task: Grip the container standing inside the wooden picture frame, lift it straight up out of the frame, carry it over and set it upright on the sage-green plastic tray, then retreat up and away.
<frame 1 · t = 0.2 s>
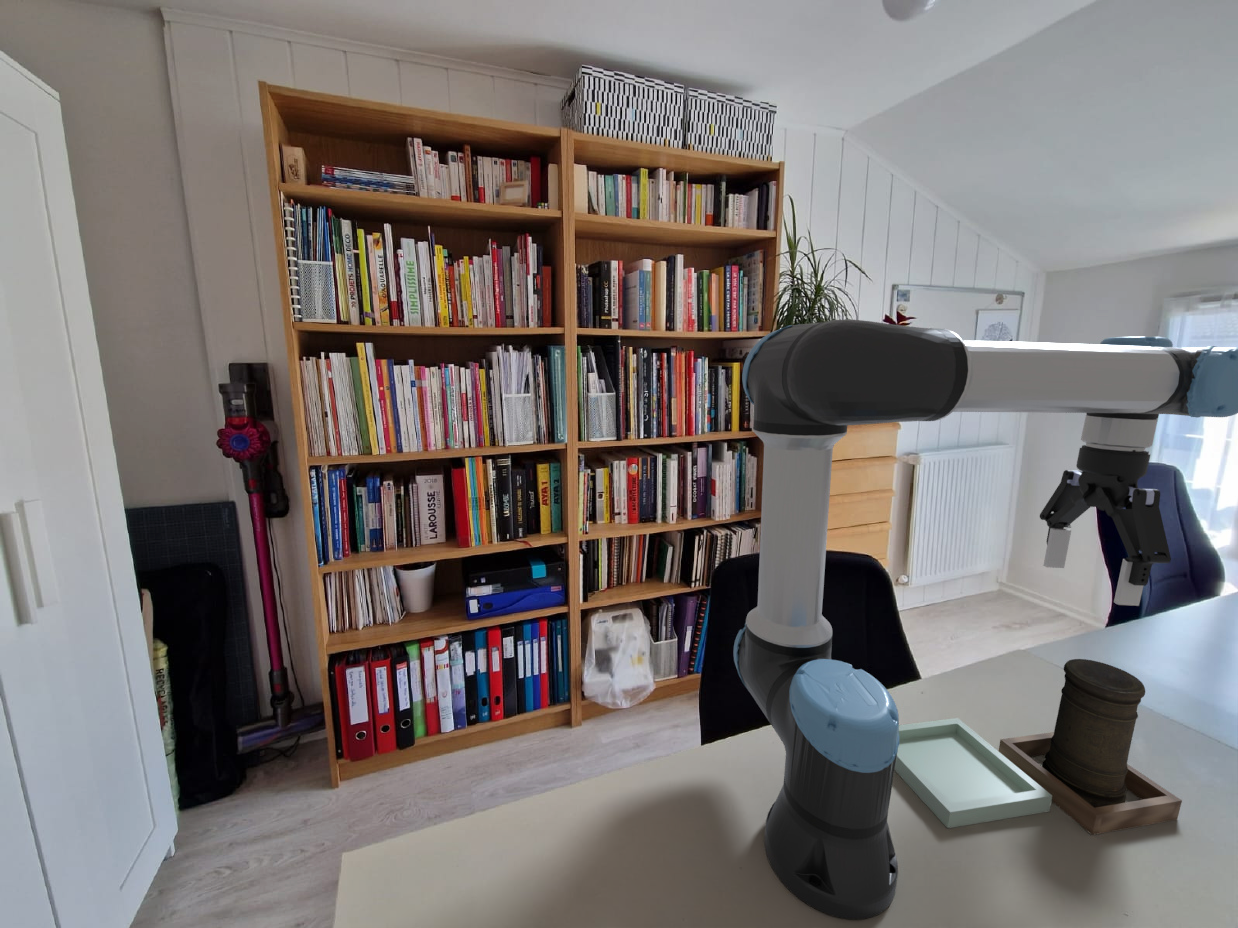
hand: (1086, 584, 79), 27 cm above the table, fingers open, 13 cm apart
wooden picture frame: (1080, 785, 76), on the table
tray: (952, 774, 78), on the table
container: (1080, 786, 76), resting in wooden picture frame
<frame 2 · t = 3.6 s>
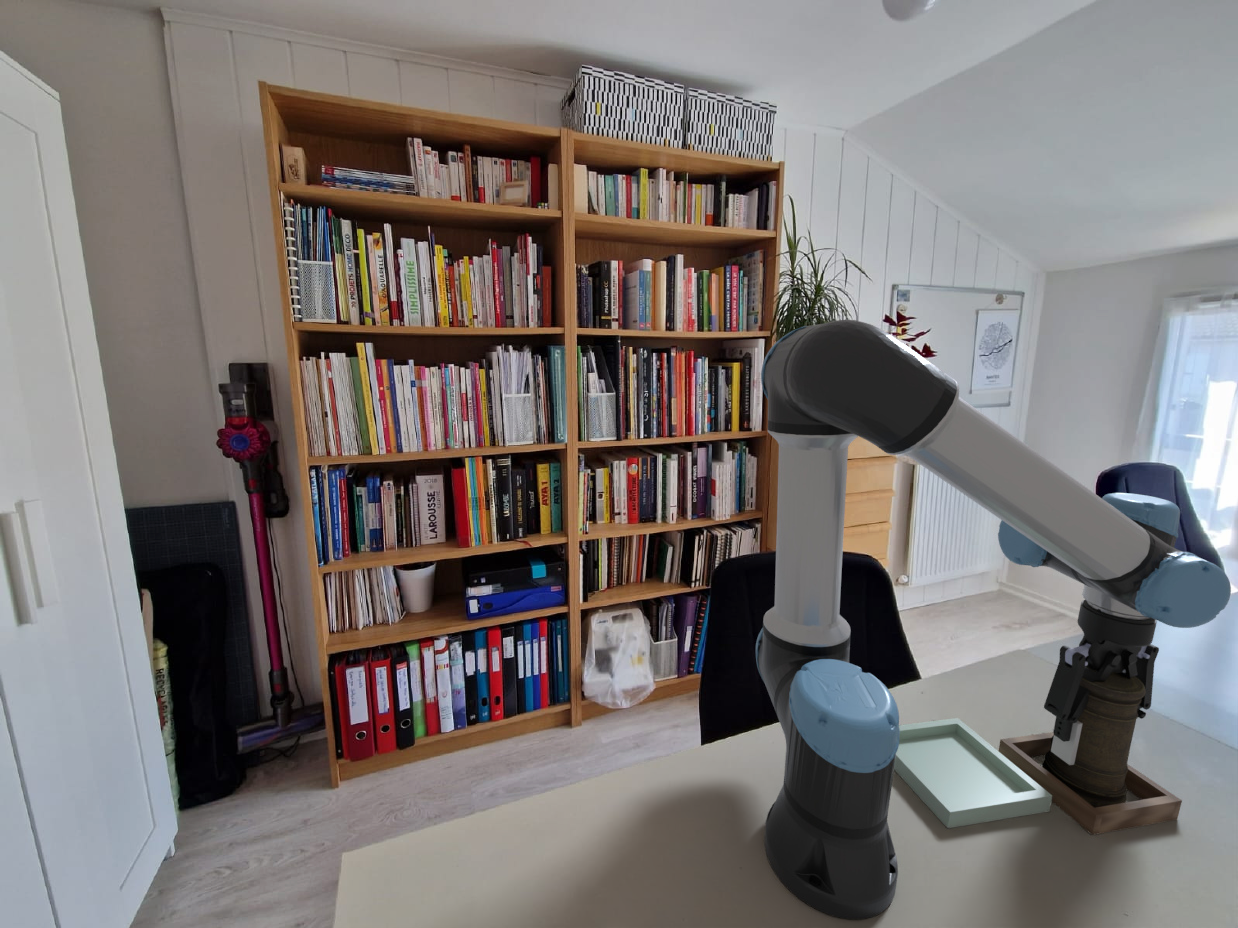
hand: (1087, 754, 75), 5 cm above the table, fingers closed on container, 8 cm apart
container: (1080, 786, 76), resting in wooden picture frame, touching gripper
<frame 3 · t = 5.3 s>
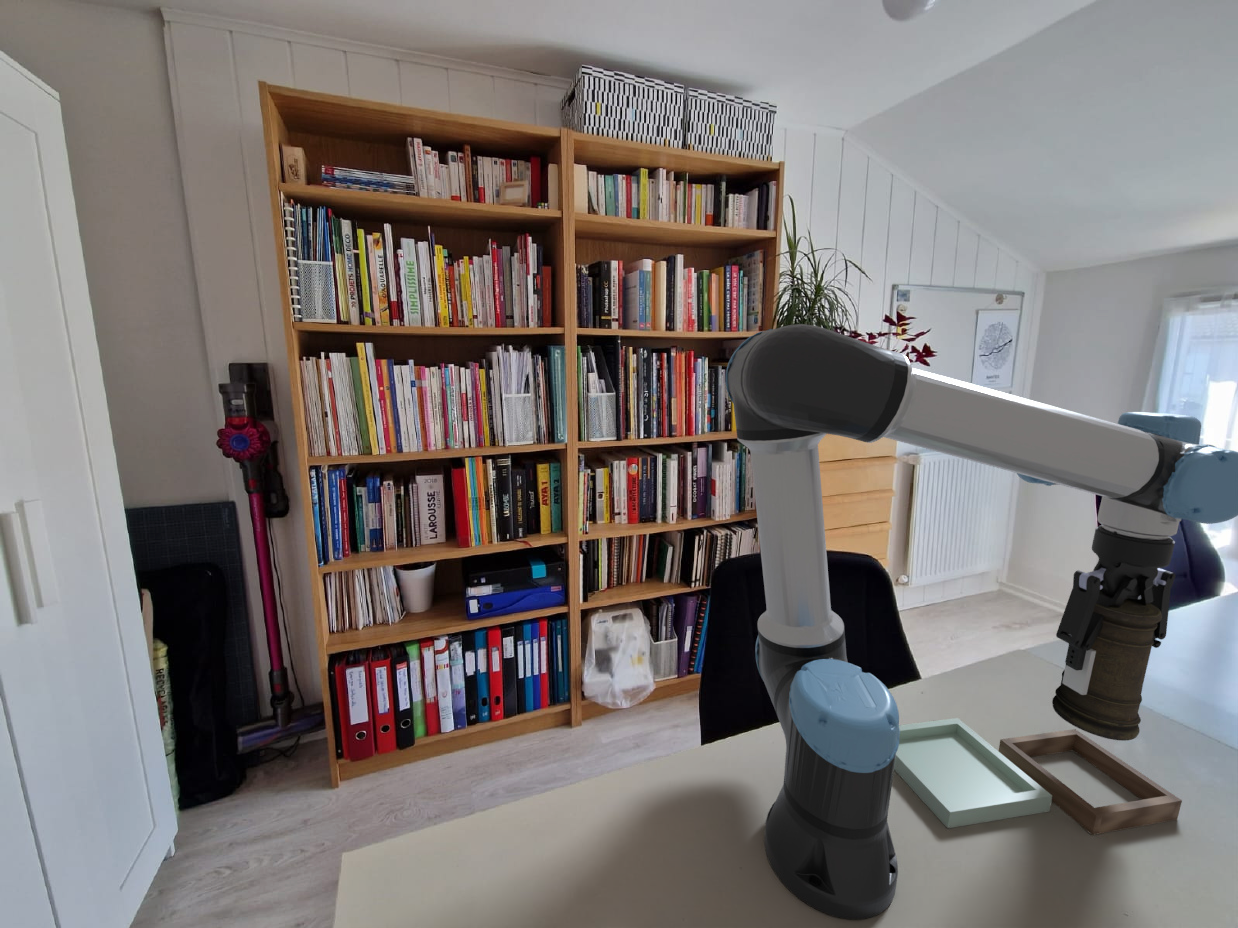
hand: (1099, 685, 73), 16 cm above the table, fingers closed on container, 8 cm apart
container: (1092, 720, 74), point 11 cm above the table, touching gripper
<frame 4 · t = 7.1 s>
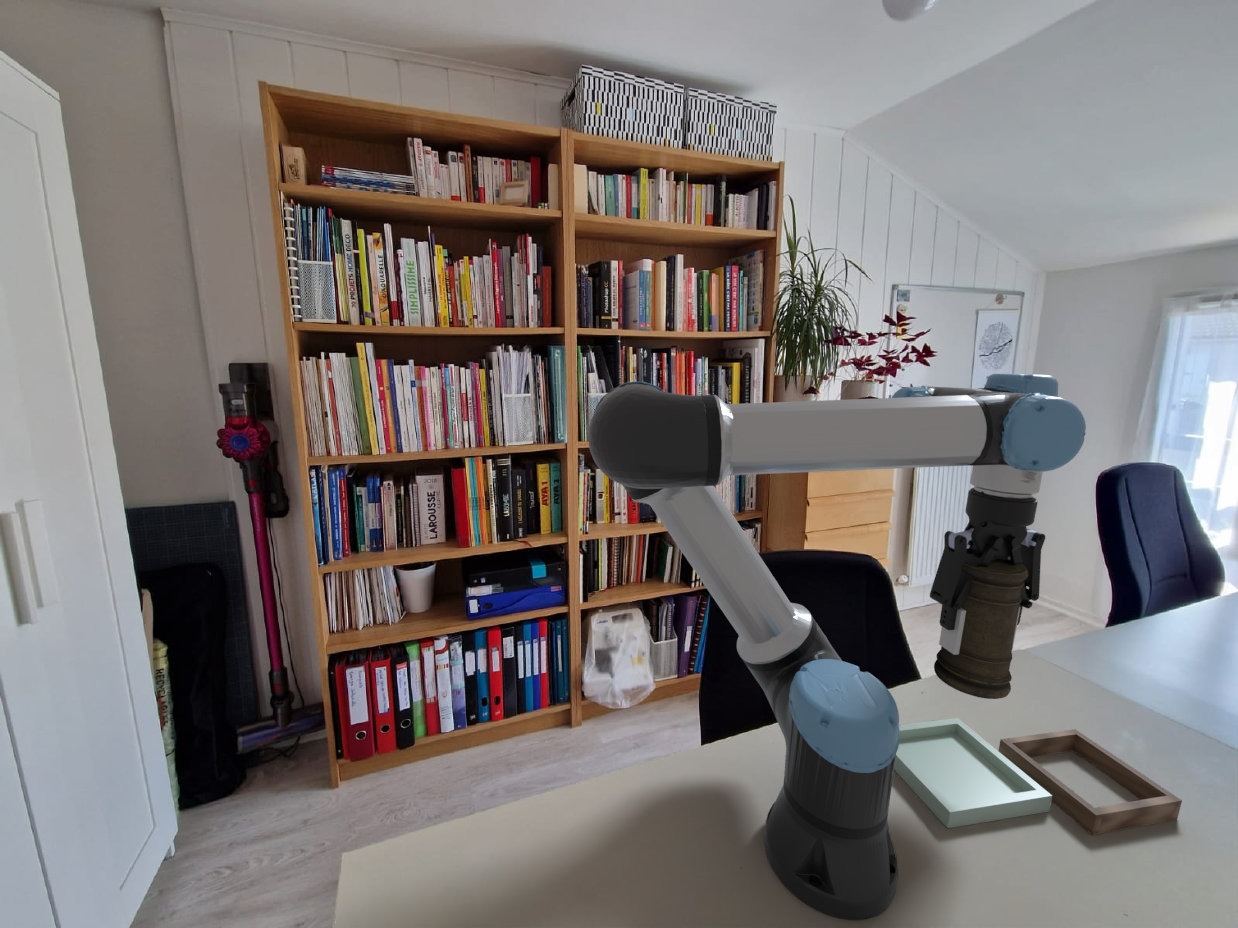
hand: (975, 647, 74), 21 cm above the table, fingers closed on container, 8 cm apart
container: (969, 681, 75), point 15 cm above the table, touching gripper
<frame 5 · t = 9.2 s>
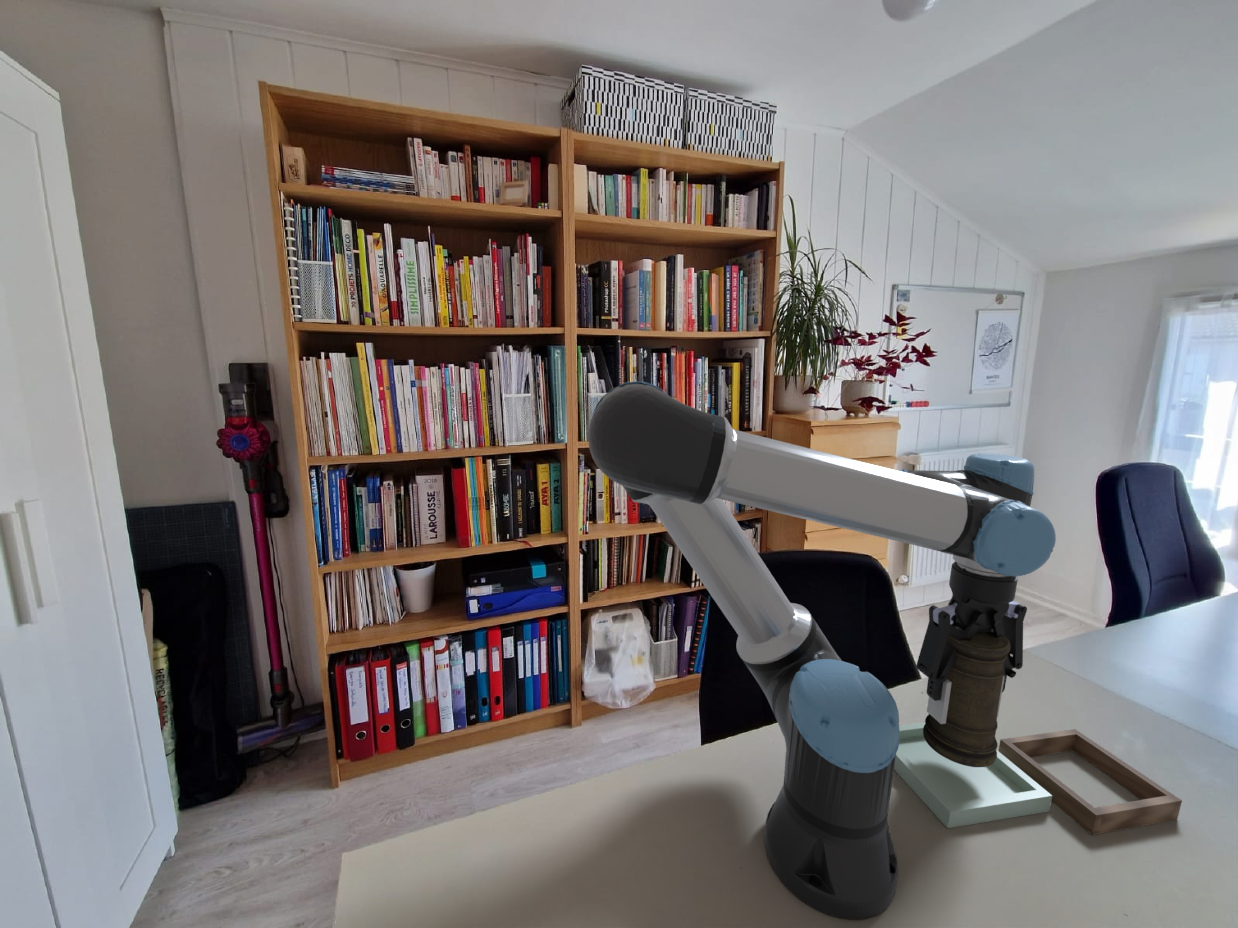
hand: (962, 714, 76), 10 cm above the table, fingers closed on container, 8 cm apart
container: (957, 746, 77), point 5 cm above the table, touching gripper
when the fingers open (7 cm above the table, at t = 10.7 s): container drops 1 cm, resting on tray.
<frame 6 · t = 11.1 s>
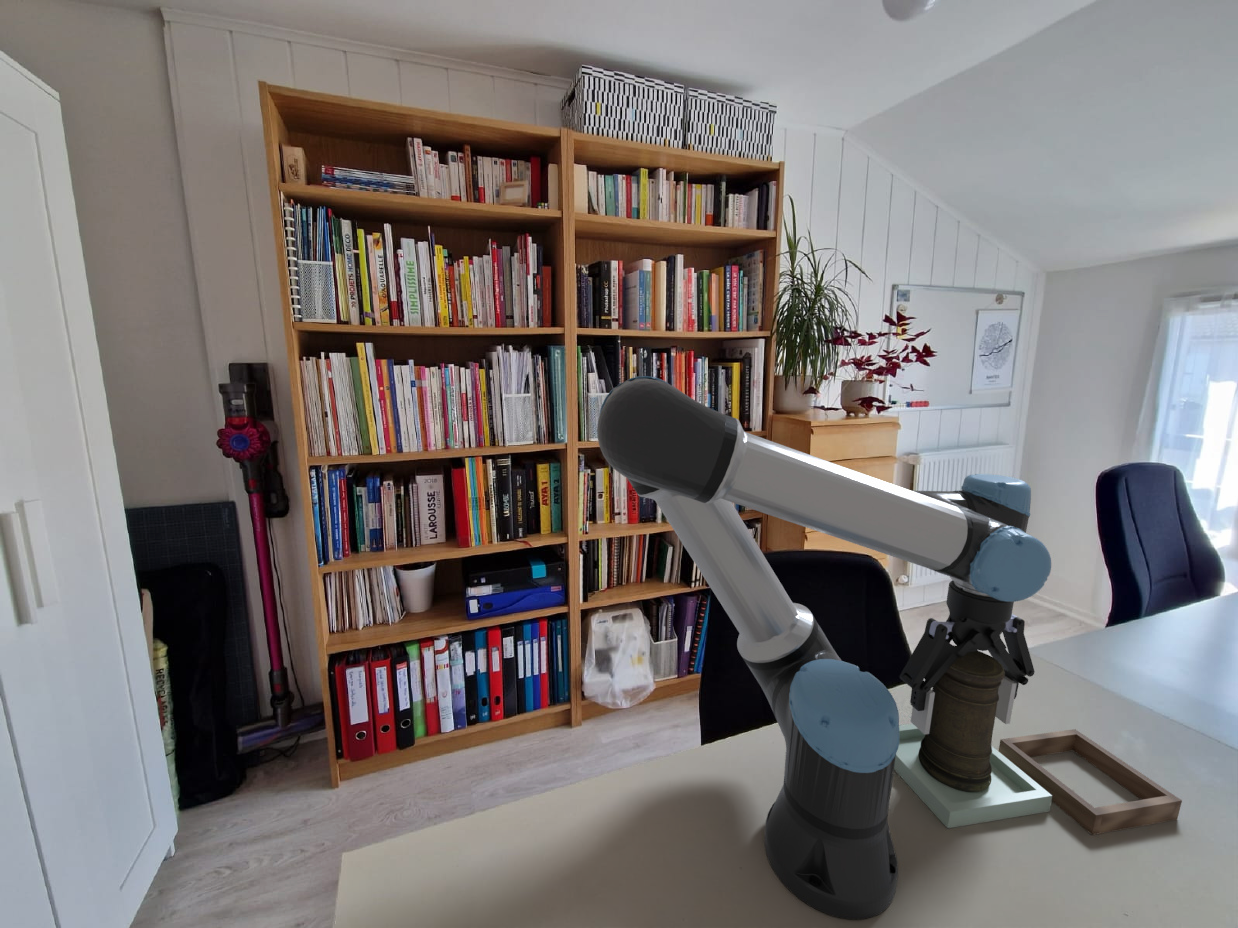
hand: (960, 722, 76), 9 cm above the table, fingers open, 13 cm apart
container: (952, 770, 78), point 1 cm above the table, touching tray
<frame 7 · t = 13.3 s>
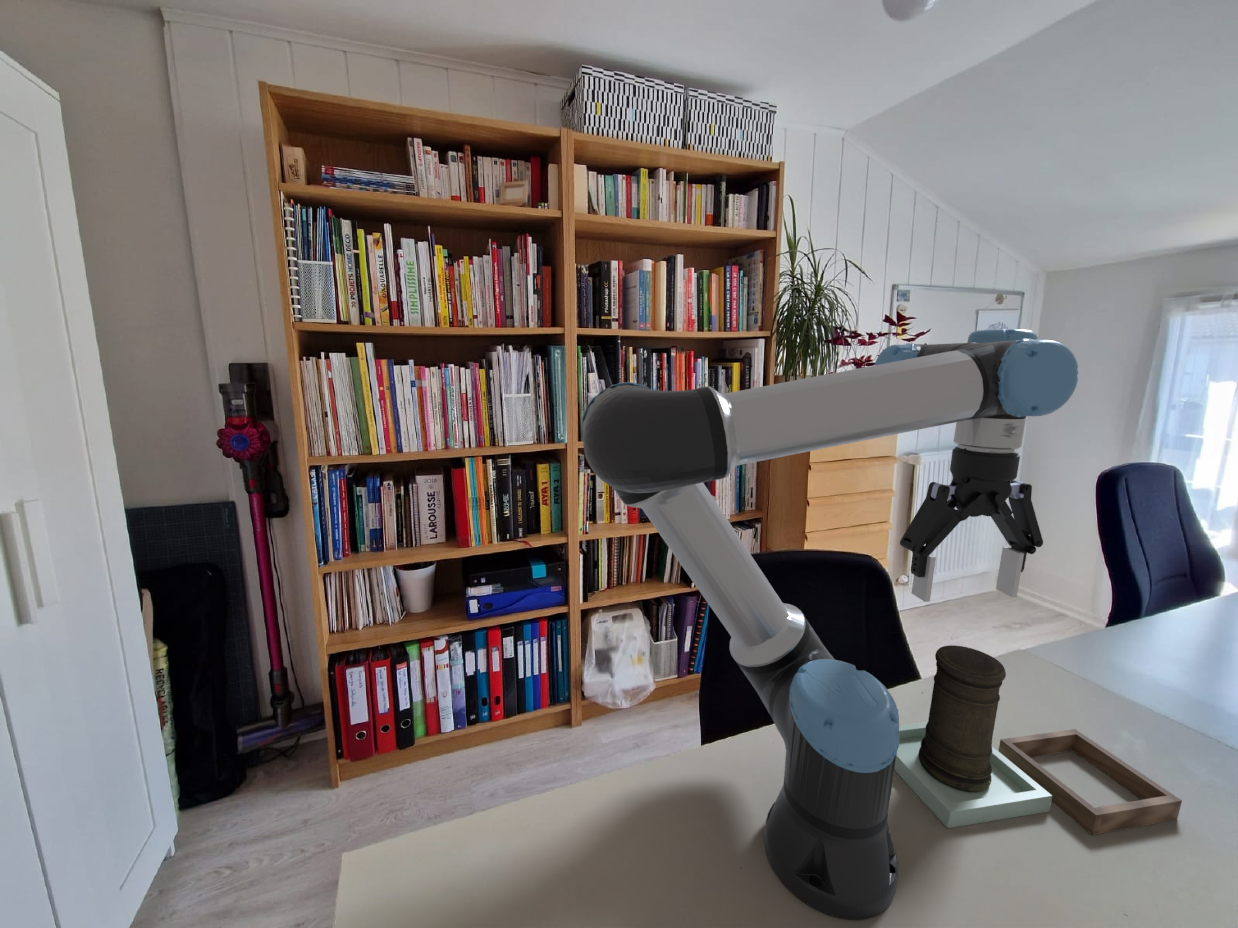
hand: (963, 595, 74), 28 cm above the table, fingers open, 13 cm apart
nothing on the table moved.
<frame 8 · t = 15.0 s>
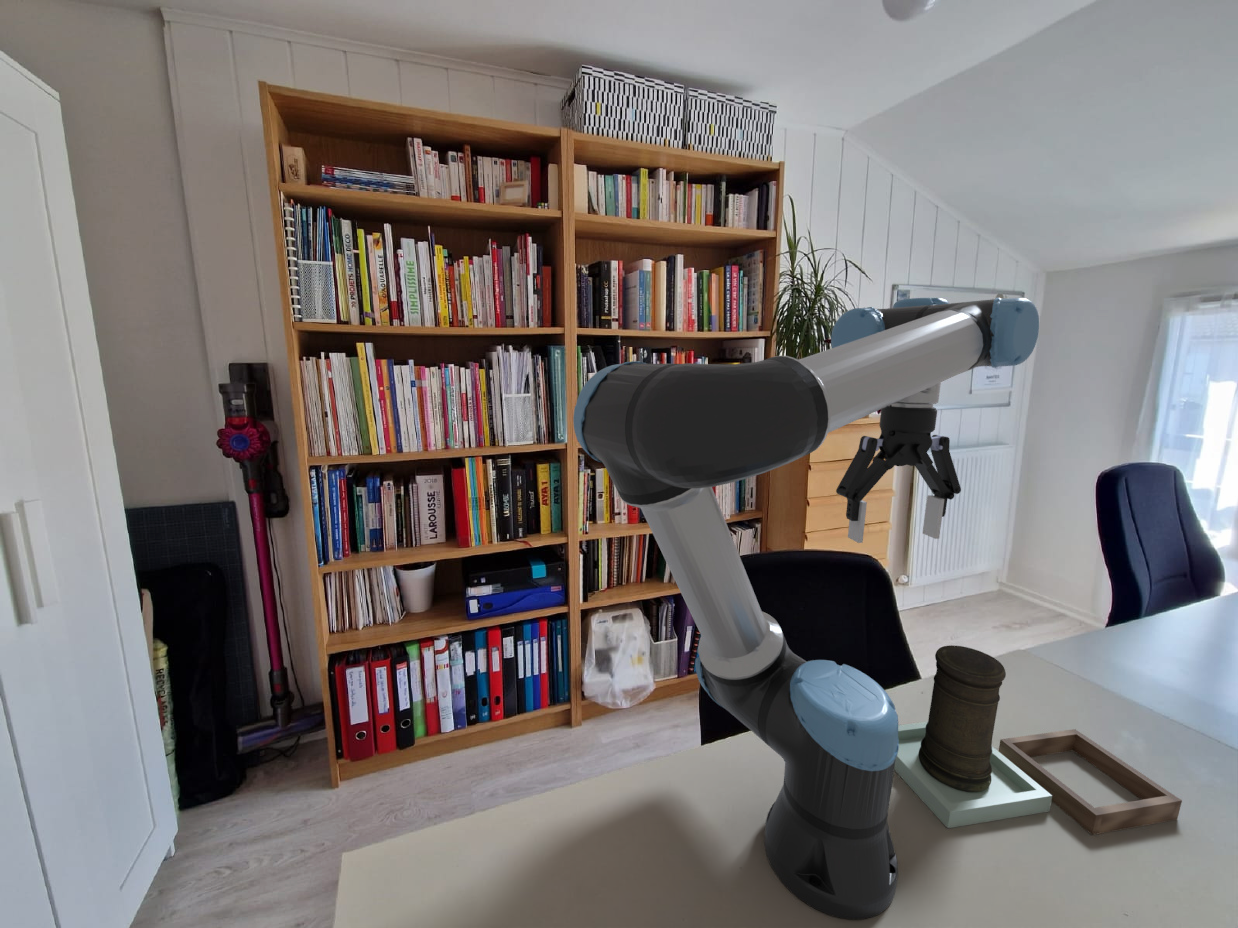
hand: (893, 538, 83), 33 cm above the table, fingers open, 13 cm apart
nothing on the table moved.
at the end: container inside the target area on the tray (0.0 cm from its centre), point 0.6 cm above the tray's base; container tilted 0°; the gripper is holding nothing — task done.
